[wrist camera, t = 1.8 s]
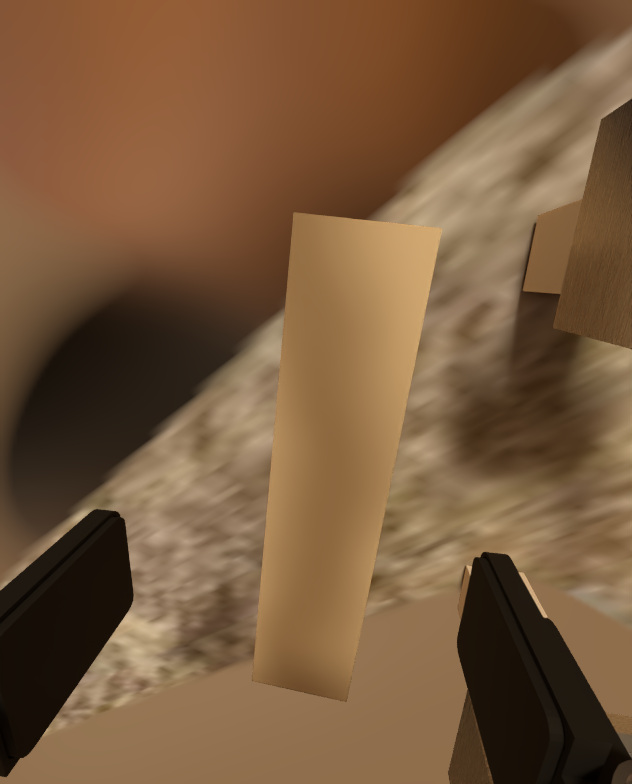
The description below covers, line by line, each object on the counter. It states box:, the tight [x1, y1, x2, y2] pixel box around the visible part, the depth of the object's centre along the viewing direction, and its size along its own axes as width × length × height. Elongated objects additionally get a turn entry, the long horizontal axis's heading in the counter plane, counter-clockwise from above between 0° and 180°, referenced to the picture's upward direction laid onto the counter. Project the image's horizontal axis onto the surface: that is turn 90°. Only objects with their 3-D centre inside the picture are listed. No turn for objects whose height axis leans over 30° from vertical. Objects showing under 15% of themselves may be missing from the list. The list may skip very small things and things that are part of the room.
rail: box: [252, 213, 442, 702], centre depth 16 cm, size 4×18×7 cm, turn 173°
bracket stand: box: [448, 99, 632, 784], centre depth 13 cm, size 7×22×11 cm, turn 177°
